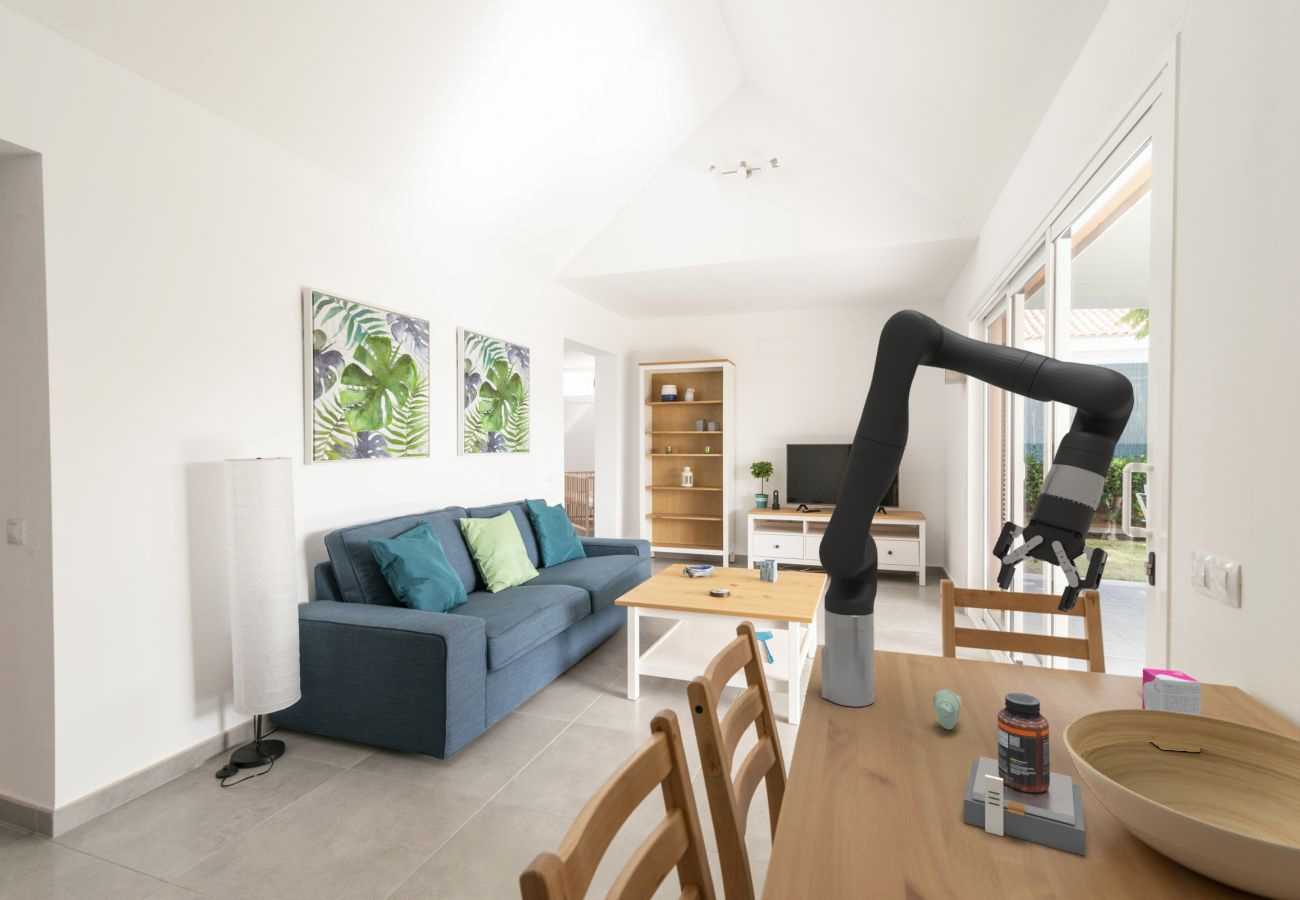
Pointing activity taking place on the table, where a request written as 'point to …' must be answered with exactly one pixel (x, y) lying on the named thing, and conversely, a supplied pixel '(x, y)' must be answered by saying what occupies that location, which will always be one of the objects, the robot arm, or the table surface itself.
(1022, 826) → the scale base
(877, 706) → the table surface
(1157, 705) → the supplement box
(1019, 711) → the supplement bottle
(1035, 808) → the scale pan
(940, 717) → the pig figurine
